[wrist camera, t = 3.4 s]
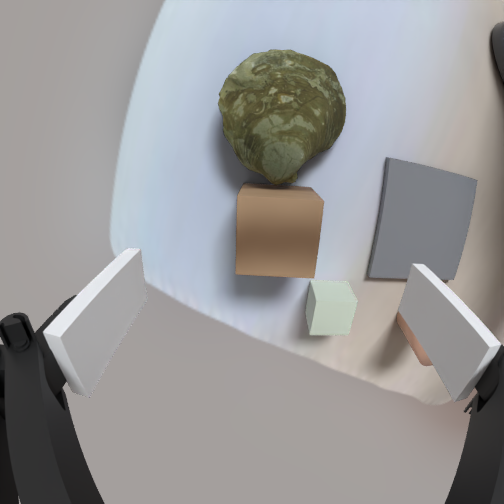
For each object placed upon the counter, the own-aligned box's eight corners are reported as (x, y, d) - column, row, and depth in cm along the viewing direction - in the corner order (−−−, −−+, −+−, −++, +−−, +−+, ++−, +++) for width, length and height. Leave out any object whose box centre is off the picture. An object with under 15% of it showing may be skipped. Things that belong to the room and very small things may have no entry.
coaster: (386, 157, 22) (389, 157, 22) (473, 178, 22) (477, 180, 21) (366, 273, 27) (369, 277, 26) (450, 276, 27) (453, 279, 26)
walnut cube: (243, 182, 24) (237, 195, 19) (310, 187, 24) (323, 201, 19) (241, 245, 27) (235, 274, 21) (304, 248, 26) (313, 278, 21)
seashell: (346, 51, 17) (371, 134, 14) (336, 109, 24) (348, 193, 21) (223, 49, 18) (201, 129, 15) (235, 107, 25) (222, 189, 22)
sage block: (310, 279, 28) (316, 300, 24) (347, 281, 28) (357, 301, 24) (305, 311, 29) (309, 335, 25) (339, 312, 29) (348, 335, 25)
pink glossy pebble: (403, 294, 28) (430, 331, 21) (435, 294, 28) (463, 327, 21) (391, 329, 30) (412, 368, 23) (422, 327, 30) (445, 362, 23)
